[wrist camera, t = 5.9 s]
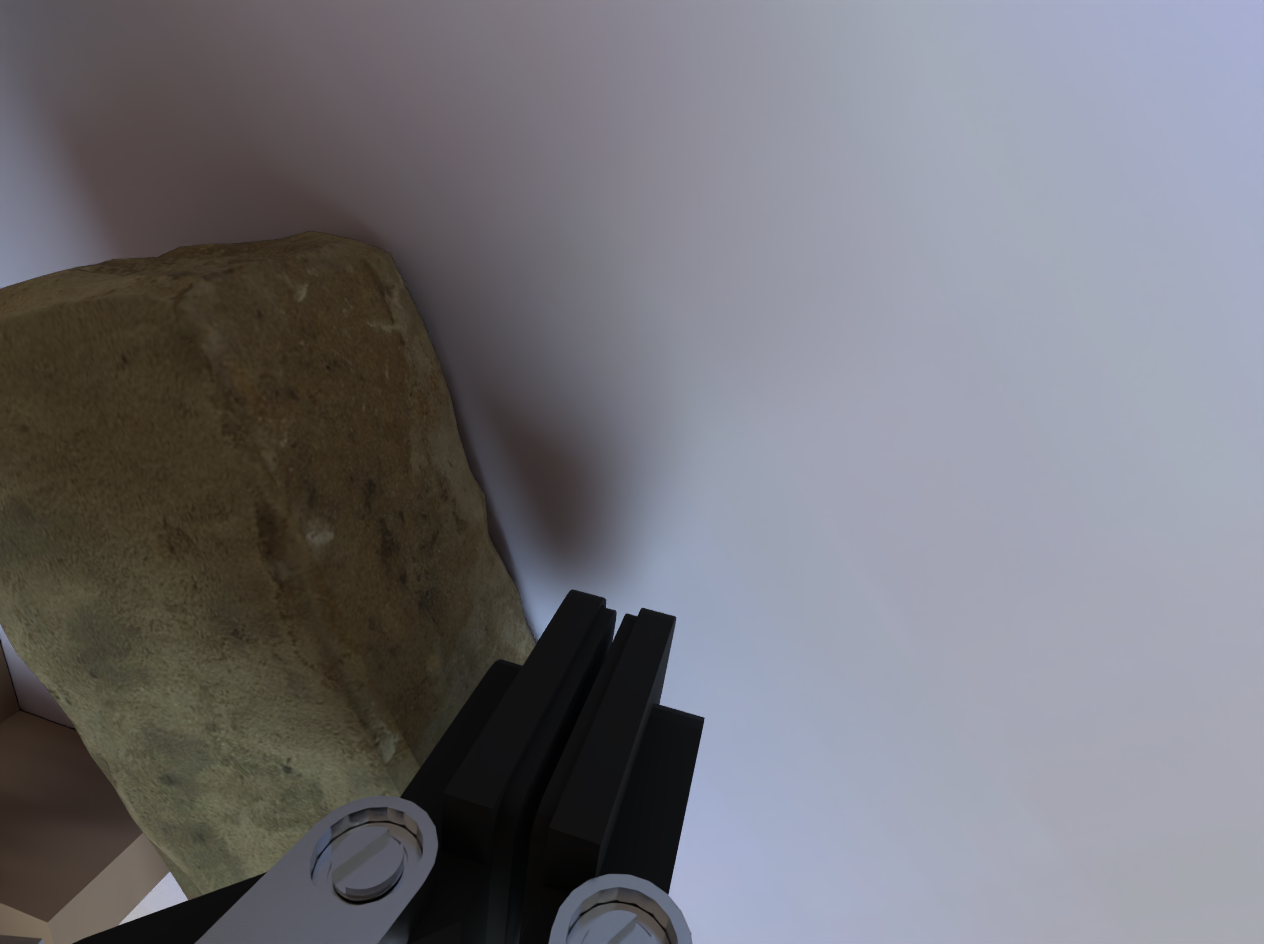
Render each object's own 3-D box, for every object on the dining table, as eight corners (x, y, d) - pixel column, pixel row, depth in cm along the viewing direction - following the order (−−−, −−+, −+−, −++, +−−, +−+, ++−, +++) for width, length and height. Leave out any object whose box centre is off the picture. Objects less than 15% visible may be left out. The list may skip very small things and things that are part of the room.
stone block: (380, 769, 16) (210, 989, 11) (147, 291, 13) (-219, 337, 8) (602, 758, 14) (503, 1017, 10) (395, 196, 11) (97, 186, 6)
